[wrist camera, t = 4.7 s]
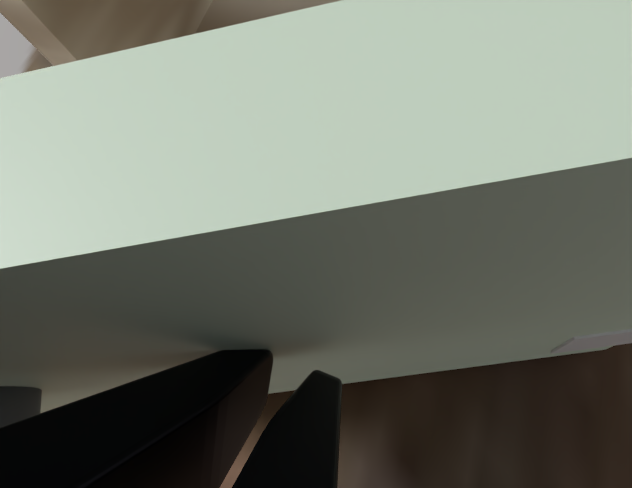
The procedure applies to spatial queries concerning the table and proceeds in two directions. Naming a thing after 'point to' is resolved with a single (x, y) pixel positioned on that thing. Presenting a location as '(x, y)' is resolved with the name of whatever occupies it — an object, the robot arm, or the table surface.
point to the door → (320, 197)
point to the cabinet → (128, 22)
